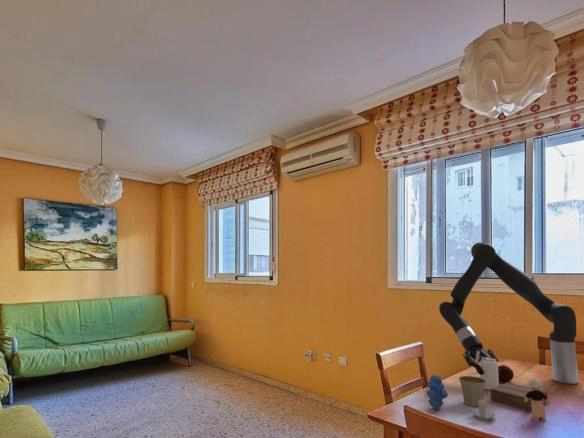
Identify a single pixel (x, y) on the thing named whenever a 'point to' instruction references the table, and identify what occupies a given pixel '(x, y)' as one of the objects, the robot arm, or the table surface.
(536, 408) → the grandmother figurine
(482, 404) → the pacifier
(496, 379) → the can
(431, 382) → the grapes
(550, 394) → the table surface
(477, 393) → the flower pot
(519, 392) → the walnut block
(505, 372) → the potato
